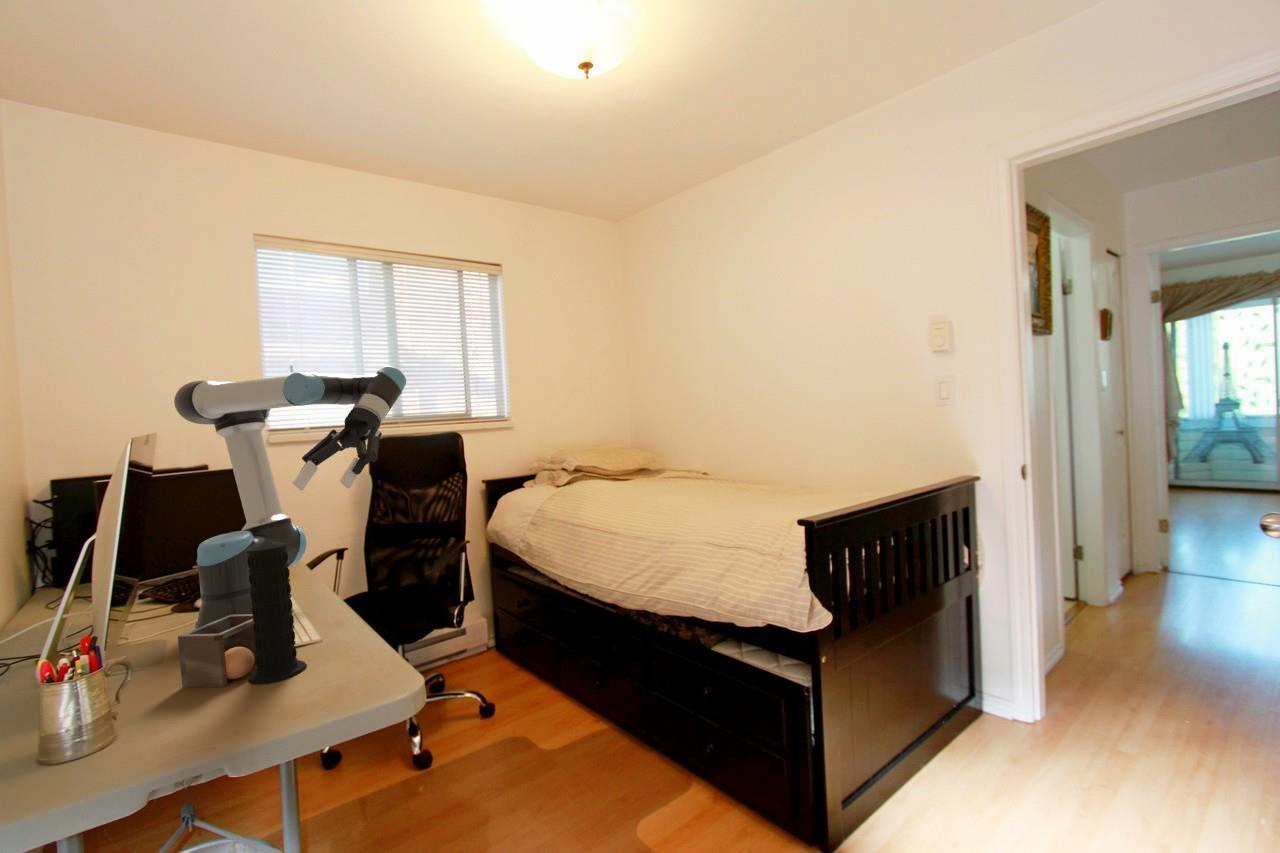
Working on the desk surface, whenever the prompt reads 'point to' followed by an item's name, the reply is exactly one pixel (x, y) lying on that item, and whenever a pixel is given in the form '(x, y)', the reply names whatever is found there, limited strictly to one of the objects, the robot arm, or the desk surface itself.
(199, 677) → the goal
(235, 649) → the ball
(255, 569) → the handle grip
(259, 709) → the desk surface
